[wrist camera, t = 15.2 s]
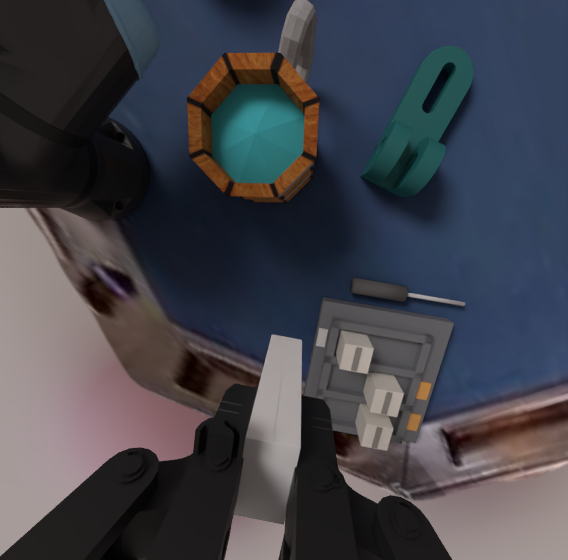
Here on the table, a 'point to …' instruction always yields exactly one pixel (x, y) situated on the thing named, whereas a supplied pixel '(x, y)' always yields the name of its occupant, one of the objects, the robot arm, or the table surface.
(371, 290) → the screwdriver
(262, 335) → the table surface
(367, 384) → the white grooved block
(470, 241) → the table surface
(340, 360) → the small white box
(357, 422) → the small white box
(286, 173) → the mug
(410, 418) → the switch bank
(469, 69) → the bracket
